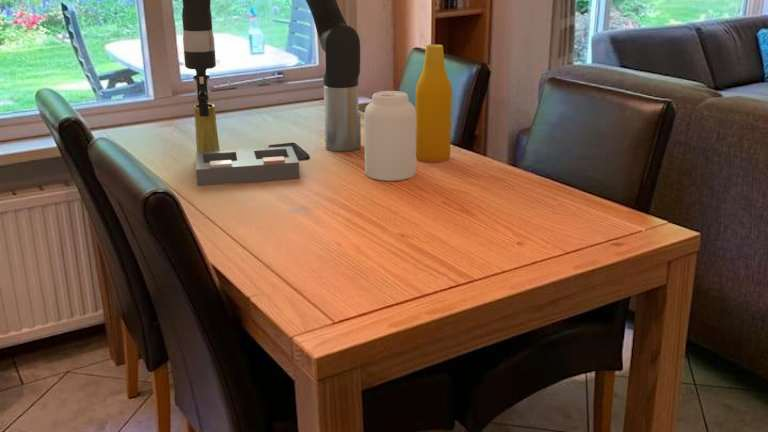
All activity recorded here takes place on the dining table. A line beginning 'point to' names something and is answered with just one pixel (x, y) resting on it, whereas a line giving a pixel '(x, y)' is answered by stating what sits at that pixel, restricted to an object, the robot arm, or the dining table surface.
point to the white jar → (390, 137)
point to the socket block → (246, 165)
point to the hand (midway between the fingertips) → (204, 112)
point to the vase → (206, 130)
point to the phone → (297, 150)
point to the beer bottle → (433, 108)
